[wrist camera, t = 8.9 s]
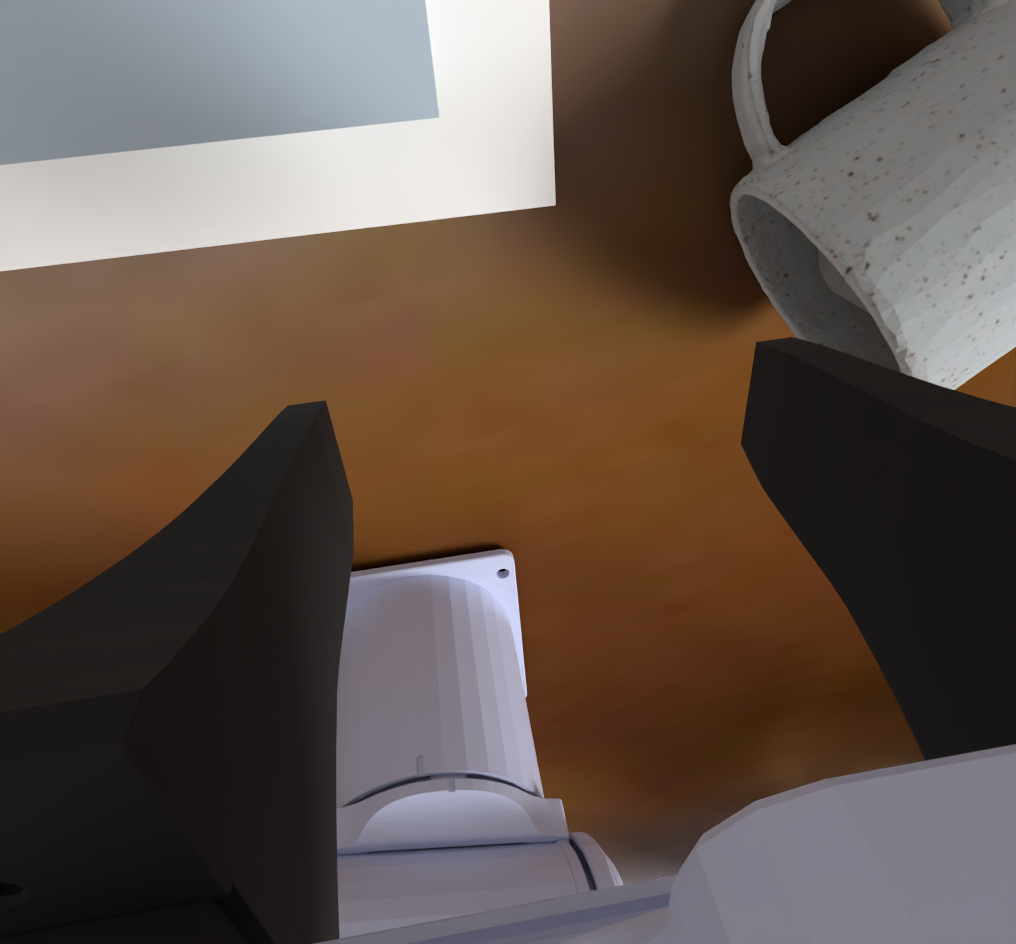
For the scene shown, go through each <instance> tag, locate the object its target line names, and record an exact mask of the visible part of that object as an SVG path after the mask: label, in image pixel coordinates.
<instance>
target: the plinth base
mask: <svg viewBox="0 0 1016 944" xmlns="http://www.w3.org/2000/svg"><path fill="white" fill-rule="evenodd" d="M555 205H556V200H555V169H554V139H553V109H552V79H551V49H550V18H549V0H0V271H7V270H15V269H23V268H32V267H40V266H49V265H57V264H66V263H74V262H82V261H91V260H99V259H108V258H116V257H125V256H133V255H141V254H150V253H158V252H167V251H175V250H184V249H192V248H201V247H209V246H217V245H226V244H234V243H243V242H251V241H260V240H268V239H276V238H285V237H293V236H302V235H310V234H319V233H327V232H335V231H344V230H352V229H361V228H369V227H378V226H386V225H394V224H403V223H411V222H420V221H428V220H437V219H445V218H453V217H462V216H470V215H479V214H487V213H496V212H504V211H512V210H521V209H529V208H538V207H546V206H555Z"/></svg>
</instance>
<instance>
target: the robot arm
mask: <svg viewBox="0 0 1016 944" xmlns="http://www.w3.org/2000/svg"><path fill="white" fill-rule="evenodd" d="M741 445H742V447H743V449H744V451H745V453H746V455H747V457H748V460H749V462H750V464H751V466H752V468H753V470H754V472H755V474H756V476H757V478H758V479H759V481H760V483H761V485H762V487H763V489H764V490H765V492H766V493H767V495H768V496H769V498H770V499H771V501H772V502H773V503H774V505H775V506H776V508H777V509H778V510H779V512H780V513H781V515H782V516H783V517H784V519H785V520H786V522H787V523H788V525H789V526H790V527H791V529H792V530H793V531H794V533H795V534H796V536H797V537H798V538H799V540H800V541H801V542H802V544H803V545H804V547H805V548H806V549H807V551H808V552H809V553H810V555H811V556H812V558H813V559H814V560H815V562H816V563H817V564H818V566H819V567H820V569H821V570H822V571H823V573H824V574H825V575H826V577H827V578H828V580H829V581H830V582H831V584H832V585H833V587H834V588H835V590H836V591H837V593H838V594H839V596H840V597H841V599H842V600H843V602H844V604H845V605H846V607H847V608H848V610H849V612H850V614H851V616H852V617H853V619H854V621H855V623H856V624H857V626H858V628H859V630H860V632H861V633H862V635H863V637H864V639H865V640H866V642H867V644H868V646H869V648H870V649H871V651H872V653H873V655H874V657H875V659H876V661H877V663H878V664H879V666H880V668H881V670H882V672H883V674H884V676H885V678H886V680H887V682H888V684H889V686H890V688H891V690H892V692H893V693H894V695H895V697H896V699H897V701H898V703H899V705H900V707H901V709H902V711H903V713H904V715H905V718H906V720H907V722H908V724H909V726H910V728H911V730H912V732H913V734H914V737H915V739H916V741H917V743H918V745H919V747H920V749H921V751H922V754H923V756H924V758H925V760H926V761H921V762H916V763H910V764H905V765H899V766H894V767H888V768H883V769H878V770H872V771H867V772H861V773H856V774H850V775H845V776H839V777H834V778H828V779H823V780H820V781H817V782H814V783H811V784H807V785H804V786H801V787H798V788H795V789H792V790H788V791H785V792H782V793H779V794H776V795H773V796H769V797H766V798H763V799H760V800H757V801H754V802H753V803H751V804H750V805H748V806H746V807H745V808H743V809H742V810H740V811H739V812H737V813H735V814H734V815H732V816H731V817H729V818H727V819H726V820H724V821H723V822H721V823H720V824H718V825H716V826H715V827H713V828H712V829H710V830H708V831H707V832H705V833H704V834H702V836H701V837H700V839H699V840H698V842H697V843H696V845H695V846H694V848H693V850H692V851H691V853H690V854H689V856H688V857H687V859H686V860H685V862H684V863H683V865H682V866H681V868H680V870H679V872H678V874H677V875H672V876H667V877H662V878H657V879H651V880H646V881H641V882H636V883H630V884H625V885H623V882H622V880H621V877H620V875H619V873H618V871H617V869H616V868H615V866H614V864H613V863H612V861H611V860H610V859H609V857H608V856H607V855H606V854H605V853H604V852H603V851H602V849H601V847H600V846H599V845H598V843H597V842H596V841H595V840H594V839H593V838H592V837H591V836H590V835H588V834H587V833H582V832H574V833H568V828H567V823H566V818H565V814H564V809H563V804H562V800H561V799H559V798H544V795H543V790H542V784H541V779H540V774H539V769H538V763H537V758H536V753H535V748H534V742H533V737H532V732H531V726H530V721H529V716H528V711H527V705H526V700H525V698H526V696H527V688H526V677H525V667H524V657H523V646H522V636H521V626H520V615H519V605H518V595H517V584H516V574H515V564H514V558H513V555H512V553H511V552H510V551H508V550H505V549H498V550H492V551H485V552H479V553H472V554H466V555H459V556H453V557H446V558H440V559H433V560H427V561H420V562H413V563H407V564H400V565H394V566H387V567H381V568H374V569H368V570H361V571H355V572H351V568H352V559H353V500H352V496H351V492H350V489H349V485H348V481H347V477H346V474H345V470H344V466H343V463H342V459H341V455H340V451H339V448H338V444H337V440H336V437H335V433H334V429H333V426H332V422H331V418H330V414H329V411H328V407H327V403H326V401H319V402H311V403H304V404H297V405H289V406H287V407H286V408H285V409H284V410H283V411H282V412H281V413H280V414H279V415H278V416H277V417H276V418H275V419H274V420H273V421H272V422H271V423H270V424H269V425H268V427H267V428H266V429H265V430H264V431H263V432H262V433H261V434H260V435H259V437H258V438H257V439H256V440H255V441H254V442H253V443H252V444H251V445H250V446H249V447H248V448H247V449H246V451H245V452H244V453H243V454H242V455H241V456H240V457H239V458H238V459H237V460H236V461H235V462H234V463H233V464H232V465H231V467H230V468H229V469H228V470H227V471H226V472H225V473H224V474H223V475H222V476H220V477H219V478H218V479H217V480H216V481H215V482H214V483H213V484H212V485H211V486H210V487H209V488H208V489H207V490H206V491H205V492H204V493H203V494H202V495H201V496H199V497H198V498H197V499H196V500H195V501H194V502H193V503H192V504H191V505H190V506H189V507H188V508H187V509H186V510H185V511H183V512H182V513H181V514H180V515H179V516H178V517H177V518H175V519H174V520H173V521H172V522H171V523H169V524H168V525H167V526H166V527H165V528H163V529H162V530H161V531H160V532H158V533H157V534H156V535H154V536H153V537H152V538H150V539H149V540H148V541H147V542H145V543H144V544H143V545H141V546H140V547H139V548H138V549H136V550H135V551H134V552H132V553H131V554H129V555H128V556H127V557H125V558H124V559H123V560H121V561H119V562H118V563H116V564H115V565H113V566H112V567H110V568H109V569H107V570H106V571H104V572H103V573H101V574H100V575H98V576H97V577H95V578H94V579H92V580H91V581H89V582H88V583H86V584H85V585H83V586H82V587H80V588H79V589H77V590H76V591H74V592H73V593H71V594H70V595H68V596H67V597H65V598H63V599H62V600H60V601H58V602H57V603H55V604H53V605H52V606H50V607H48V608H47V609H45V610H43V611H41V612H40V613H38V614H36V615H35V616H33V617H31V618H29V619H28V620H26V621H24V622H22V623H21V624H19V625H17V626H15V627H13V628H11V629H10V630H8V631H6V632H4V633H2V634H0V944H1016V407H1011V406H1007V405H1003V404H1000V403H996V402H992V401H989V400H985V399H982V398H978V397H975V396H972V395H968V394H965V393H962V392H959V391H955V390H952V389H949V388H945V387H942V386H939V385H936V384H933V383H930V382H927V381H924V380H921V379H918V378H915V377H912V376H909V375H906V374H903V373H900V372H898V371H895V370H892V369H889V368H886V367H883V366H881V365H878V364H875V363H872V362H869V361H867V360H864V359H861V358H858V357H855V356H852V355H850V354H847V353H844V352H841V351H838V350H835V349H832V348H829V347H826V346H823V345H820V344H816V343H813V342H809V341H806V340H801V339H797V338H792V337H791V338H783V339H776V340H769V341H761V342H756V348H755V354H754V361H753V368H752V374H751V381H750V387H749V394H748V400H747V407H746V413H745V420H744V427H743V433H742V440H741ZM501 569H506V570H505V571H502V572H499V570H501Z"/></svg>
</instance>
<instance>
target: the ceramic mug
mask: <svg viewBox="0 0 1016 944" xmlns="http://www.w3.org/2000/svg"><path fill="white" fill-rule="evenodd" d="M791 1H792V0H756V1H755V3H754V4H753V6H752V8H751V9H750V11H749V13H748V15H747V17H746V19H745V21H744V23H743V25H742V27H741V29H740V32H739V36H738V40H737V44H736V49H735V54H734V60H733V66H732V94H733V102H734V107H735V112H736V117H737V122H738V125H739V128H740V131H741V135H742V138H743V141H744V144H745V148H746V150H747V151H748V153H749V155H750V157H751V159H752V163H753V170H752V171H751V172H750V173H749V174H748V175H747V176H745V177H743V178H742V179H741V180H740V182H739V183H738V184H737V185H736V186H735V187H734V189H733V191H732V193H731V198H730V203H729V204H730V208H731V220H732V224H733V228H734V231H735V233H736V235H737V237H738V239H739V242H740V244H741V246H742V249H743V252H744V255H745V258H746V260H747V262H748V264H749V266H750V267H751V269H752V271H753V273H754V274H755V276H756V278H757V280H758V281H759V283H760V285H761V287H762V290H763V291H764V292H765V294H766V295H767V296H768V297H769V299H770V302H771V303H772V304H773V306H774V307H775V308H776V310H777V311H778V312H779V314H780V315H781V316H782V318H783V319H784V321H785V322H786V324H787V325H788V327H789V328H790V329H791V331H792V332H793V333H794V334H795V335H796V337H797V338H798V339H801V340H806V341H809V342H813V343H816V344H820V345H823V346H826V347H829V348H832V349H835V350H838V351H841V352H844V353H847V354H850V355H852V356H855V357H858V358H861V359H864V360H867V361H869V362H872V363H875V364H878V365H881V366H883V367H886V368H889V369H892V370H895V371H898V372H900V373H903V374H906V375H909V376H912V377H915V378H918V379H921V380H924V381H927V382H930V383H933V384H936V385H939V386H942V387H945V388H949V389H952V390H955V389H956V388H958V387H959V386H960V385H962V384H963V383H965V382H966V381H967V380H969V379H970V378H972V377H973V376H974V375H976V374H977V373H979V372H980V371H981V370H983V369H984V368H986V367H987V366H989V365H990V364H991V363H993V362H994V361H996V360H997V359H999V358H1000V357H1002V356H1003V355H1004V354H1006V353H1007V352H1009V351H1010V350H1012V349H1013V348H1015V347H1016V0H938V1H939V2H940V4H941V6H942V8H943V10H944V11H945V13H946V15H947V16H948V18H949V20H950V22H951V25H952V29H951V31H950V32H948V33H947V34H945V35H944V36H943V37H941V38H940V39H938V40H937V41H936V42H934V43H932V44H930V45H928V46H926V47H925V48H924V49H923V50H921V51H920V52H919V53H918V54H916V55H915V56H913V57H912V58H911V59H909V60H908V61H906V62H905V63H903V64H902V65H900V66H899V67H897V68H895V69H894V70H892V71H891V73H890V74H889V75H888V76H887V77H886V78H885V79H884V80H882V81H881V82H880V83H878V84H877V85H875V86H874V87H872V88H871V89H869V90H868V91H866V92H865V93H864V94H862V95H861V96H859V97H858V98H856V99H854V100H853V101H851V102H850V103H848V104H847V105H845V106H844V107H842V108H841V109H839V110H837V111H835V112H834V113H832V114H831V115H829V116H828V117H826V118H825V119H823V120H822V121H821V122H820V123H819V124H818V125H816V126H814V127H813V128H812V129H810V130H809V131H808V132H806V133H804V134H803V135H801V136H799V137H798V138H797V139H796V140H794V141H792V142H791V144H789V145H788V146H783V145H781V144H780V143H779V141H778V140H777V139H776V137H775V136H774V134H773V131H772V128H771V126H770V122H769V113H768V111H767V108H766V104H765V98H764V92H763V86H762V80H761V58H762V54H763V50H764V45H765V39H766V33H767V31H768V30H769V28H770V24H771V17H772V14H773V13H774V12H775V11H777V10H779V9H780V8H782V7H783V6H785V5H786V4H788V3H789V2H791Z"/></svg>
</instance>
